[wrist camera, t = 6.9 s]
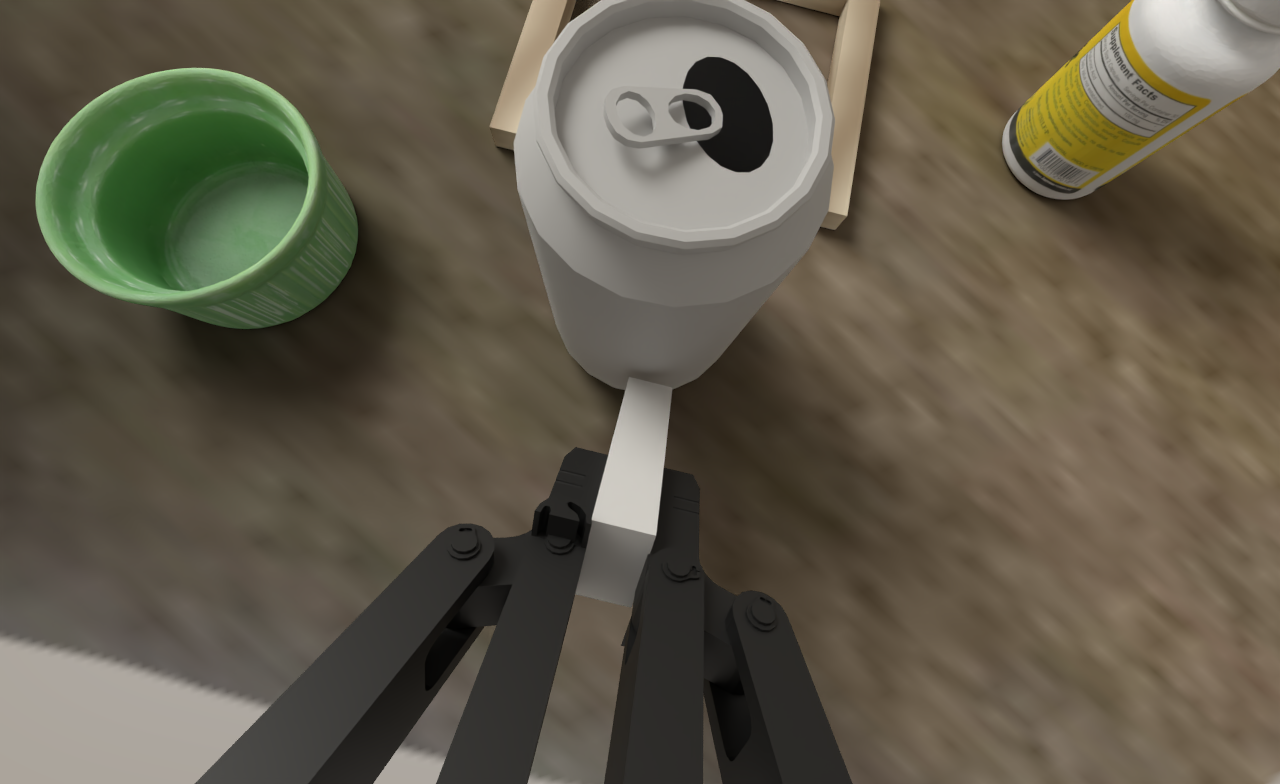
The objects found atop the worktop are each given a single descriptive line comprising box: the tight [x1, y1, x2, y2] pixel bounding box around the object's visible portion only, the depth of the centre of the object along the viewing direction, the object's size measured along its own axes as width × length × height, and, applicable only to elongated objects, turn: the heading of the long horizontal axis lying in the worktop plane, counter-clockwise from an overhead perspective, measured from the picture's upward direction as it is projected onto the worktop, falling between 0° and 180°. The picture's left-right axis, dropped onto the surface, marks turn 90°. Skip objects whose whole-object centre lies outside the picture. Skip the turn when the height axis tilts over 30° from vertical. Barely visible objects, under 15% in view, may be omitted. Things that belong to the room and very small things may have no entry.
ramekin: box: [36, 68, 358, 329], centre depth 19 cm, size 9×9×4 cm
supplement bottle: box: [1002, 0, 1280, 200], centre depth 20 cm, size 5×5×10 cm
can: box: [514, 0, 835, 390], centre depth 16 cm, size 8×8×12 cm
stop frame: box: [490, 0, 880, 230], centre depth 24 cm, size 16×14×1 cm
